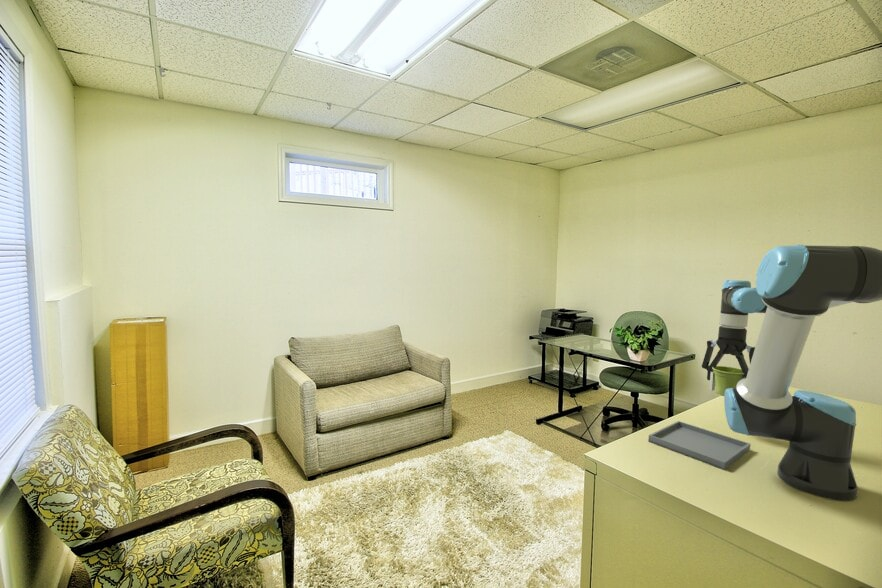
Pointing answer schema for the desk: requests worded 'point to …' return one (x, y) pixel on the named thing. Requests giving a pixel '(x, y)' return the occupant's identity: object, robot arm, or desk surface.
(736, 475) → the desk surface
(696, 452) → the tray
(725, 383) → the plant pot
